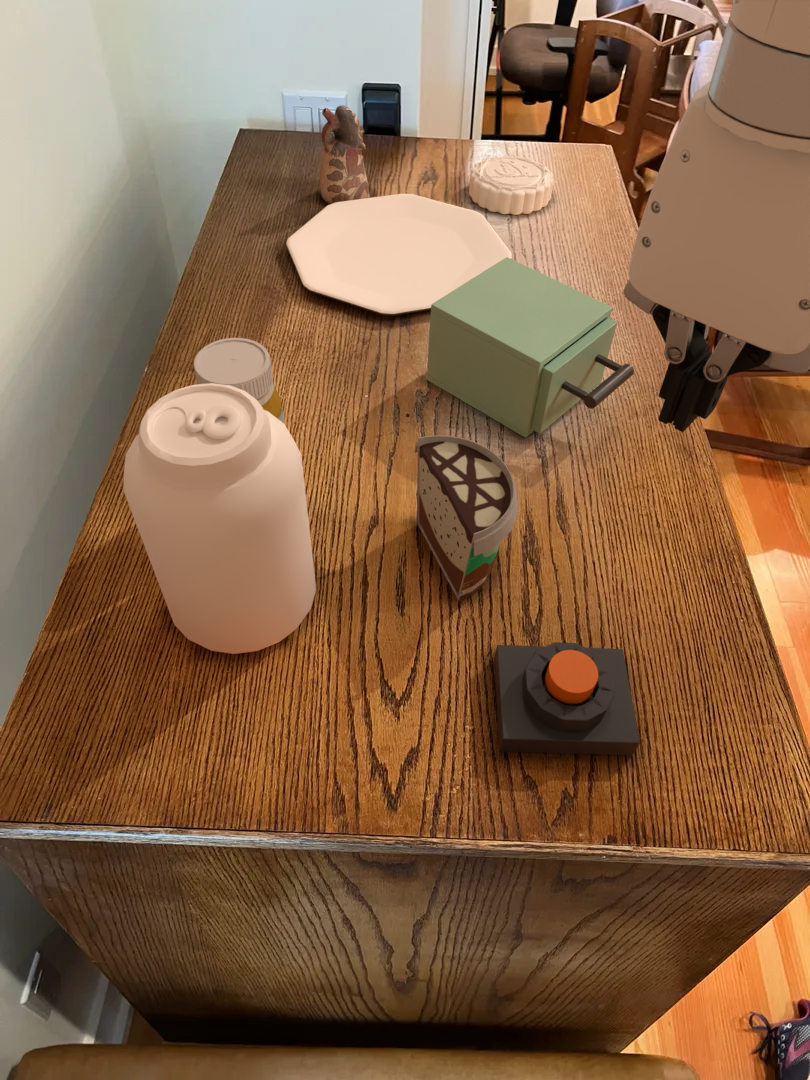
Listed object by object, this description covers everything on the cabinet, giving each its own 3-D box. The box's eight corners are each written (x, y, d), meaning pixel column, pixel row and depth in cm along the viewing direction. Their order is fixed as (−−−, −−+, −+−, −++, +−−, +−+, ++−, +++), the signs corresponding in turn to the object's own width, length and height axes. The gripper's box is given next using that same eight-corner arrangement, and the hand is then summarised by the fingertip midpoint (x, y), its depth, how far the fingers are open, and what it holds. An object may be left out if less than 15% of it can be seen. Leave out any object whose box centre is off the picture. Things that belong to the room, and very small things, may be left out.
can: (321, 539, 70) (304, 360, 54) (311, 659, 62) (288, 489, 47) (183, 538, 70) (127, 357, 54) (155, 657, 62) (80, 486, 46)
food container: (530, 593, 67) (549, 517, 59) (465, 614, 65) (477, 539, 57) (470, 495, 74) (481, 417, 66) (411, 512, 72) (415, 433, 65)
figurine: (373, 204, 110) (373, 115, 100) (324, 209, 108) (319, 119, 99) (364, 181, 114) (362, 94, 105) (316, 185, 113) (310, 97, 103)
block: (616, 662, 62) (628, 636, 59) (632, 756, 57) (647, 732, 54) (493, 658, 62) (499, 632, 59) (499, 751, 57) (505, 727, 54)
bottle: (211, 471, 75) (180, 343, 64) (281, 454, 77) (263, 327, 65) (227, 522, 71) (197, 395, 59) (300, 503, 73) (285, 377, 61)
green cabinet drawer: (633, 399, 82) (653, 338, 76) (573, 453, 77) (589, 392, 71) (509, 334, 89) (519, 274, 83) (446, 380, 84) (451, 318, 78)
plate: (534, 237, 105) (536, 226, 104) (448, 344, 89) (449, 333, 88) (358, 189, 112) (358, 178, 111) (250, 280, 97) (249, 269, 95)
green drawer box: (593, 382, 85) (613, 306, 78) (525, 438, 79) (540, 362, 72) (496, 331, 91) (506, 256, 84) (426, 379, 85) (430, 304, 77)
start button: (589, 662, 58) (594, 650, 57) (596, 705, 56) (601, 693, 55) (542, 660, 58) (546, 648, 57) (547, 703, 56) (551, 692, 55)
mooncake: (542, 175, 116) (545, 151, 114) (557, 215, 109) (562, 190, 106) (463, 176, 116) (465, 152, 113) (474, 216, 108) (476, 191, 105)
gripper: (1026, 100, 31) (828, 440, 45) (688, 16, 37) (607, 337, 51) (969, 164, 27) (773, 511, 41) (604, 58, 33) (543, 391, 47)
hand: (682, 414), depth 46 cm, fingers closed
